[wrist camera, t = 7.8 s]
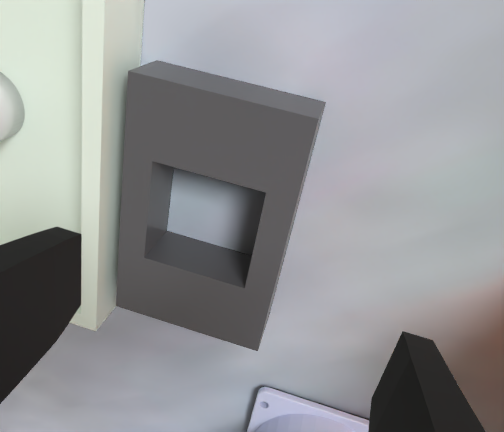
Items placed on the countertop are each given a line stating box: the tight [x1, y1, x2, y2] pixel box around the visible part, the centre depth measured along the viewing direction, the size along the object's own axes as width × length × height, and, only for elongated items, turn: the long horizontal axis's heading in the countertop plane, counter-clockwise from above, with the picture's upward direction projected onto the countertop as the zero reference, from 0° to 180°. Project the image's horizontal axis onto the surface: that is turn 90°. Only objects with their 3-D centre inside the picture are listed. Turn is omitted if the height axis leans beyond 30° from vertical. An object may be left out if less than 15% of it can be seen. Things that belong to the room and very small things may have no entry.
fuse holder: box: [116, 61, 326, 351], centre depth 20 cm, size 11×7×2 cm, turn 169°
